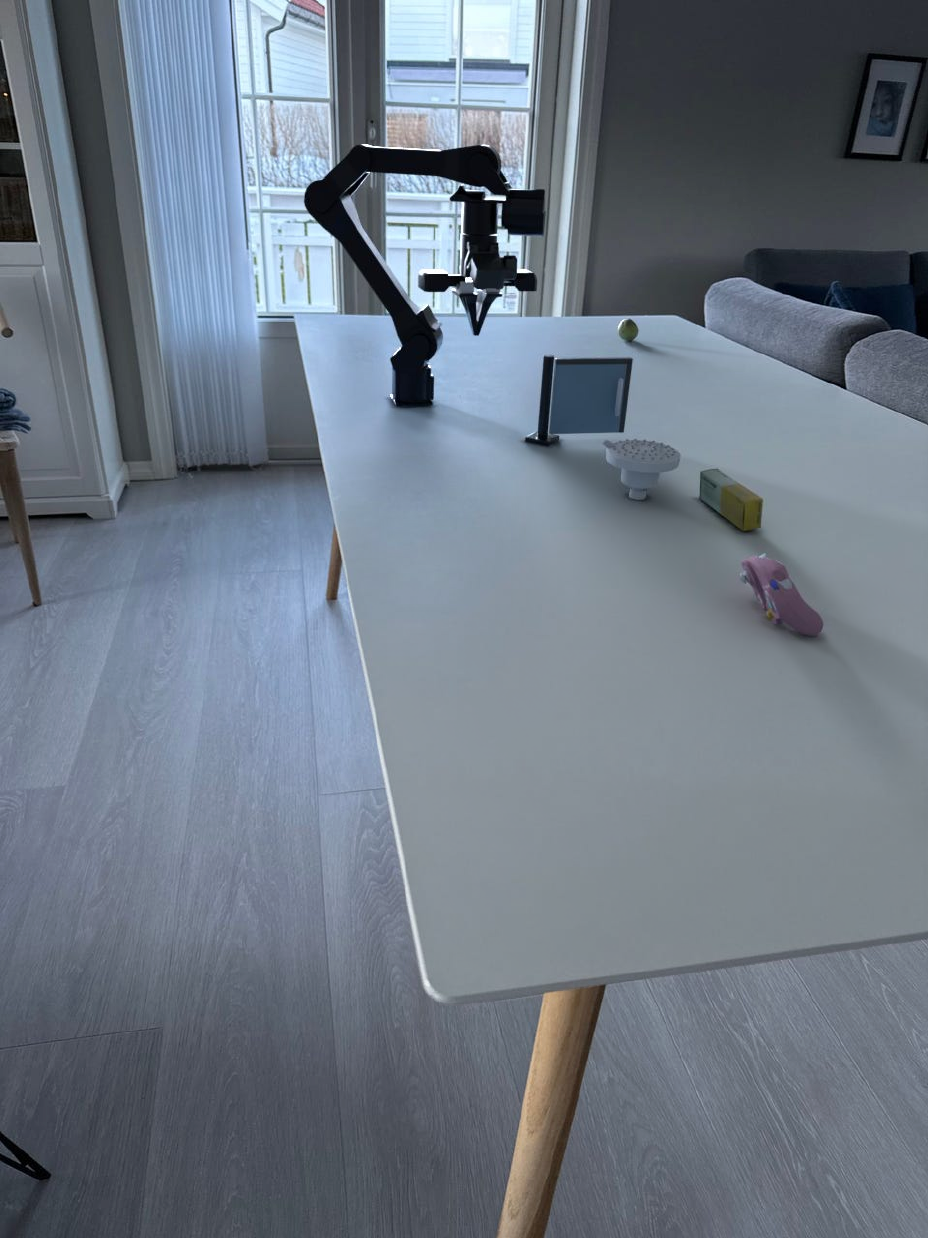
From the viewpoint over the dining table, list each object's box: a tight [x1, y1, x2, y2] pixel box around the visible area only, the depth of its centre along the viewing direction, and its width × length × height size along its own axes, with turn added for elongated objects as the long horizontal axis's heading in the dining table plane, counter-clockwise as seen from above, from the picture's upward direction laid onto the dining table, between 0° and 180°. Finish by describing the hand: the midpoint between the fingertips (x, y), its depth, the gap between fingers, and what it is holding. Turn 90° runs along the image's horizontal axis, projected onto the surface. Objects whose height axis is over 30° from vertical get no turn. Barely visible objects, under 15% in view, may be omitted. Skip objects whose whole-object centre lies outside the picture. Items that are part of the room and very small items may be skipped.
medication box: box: [698, 468, 764, 532], centre depth 113 cm, size 12×3×4 cm, turn 13°
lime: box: [617, 318, 639, 342], centre depth 212 cm, size 4×5×5 cm
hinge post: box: [524, 354, 560, 448], centre depth 136 cm, size 4×4×13 cm
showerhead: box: [602, 438, 681, 501], centre depth 117 cm, size 9×7×10 cm
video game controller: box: [739, 552, 824, 637], centre depth 89 cm, size 10×5×7 cm, turn 5°
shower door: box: [548, 356, 634, 435], centre depth 137 cm, size 2×12×11 cm, turn 102°
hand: (475, 335), depth 150 cm, fingers closed
